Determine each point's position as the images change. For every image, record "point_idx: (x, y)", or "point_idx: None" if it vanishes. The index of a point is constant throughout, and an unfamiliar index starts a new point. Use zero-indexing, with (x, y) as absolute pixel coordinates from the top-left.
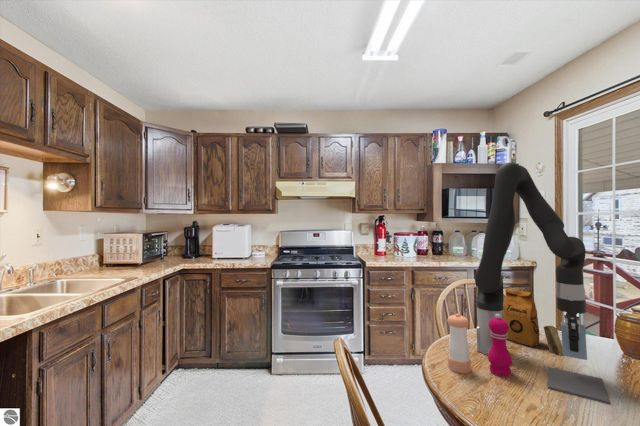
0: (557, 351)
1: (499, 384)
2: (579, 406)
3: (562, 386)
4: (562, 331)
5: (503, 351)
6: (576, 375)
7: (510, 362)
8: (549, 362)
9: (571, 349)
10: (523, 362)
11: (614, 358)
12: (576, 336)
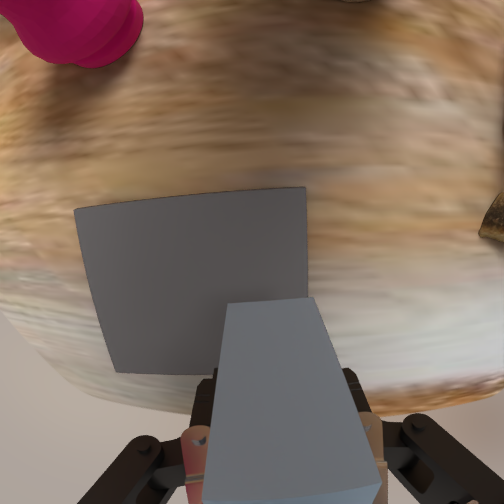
0: (492, 225)
1: (12, 74)
2: (40, 298)
3: (111, 257)
4: (212, 440)
5: (12, 24)
6: (275, 299)
7: (49, 60)
8: (386, 190)
9: (205, 379)
10: (303, 78)
11: (500, 365)
12: (153, 487)
